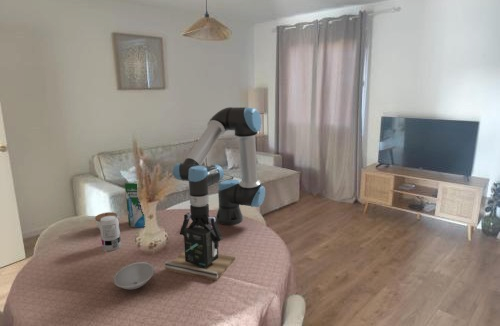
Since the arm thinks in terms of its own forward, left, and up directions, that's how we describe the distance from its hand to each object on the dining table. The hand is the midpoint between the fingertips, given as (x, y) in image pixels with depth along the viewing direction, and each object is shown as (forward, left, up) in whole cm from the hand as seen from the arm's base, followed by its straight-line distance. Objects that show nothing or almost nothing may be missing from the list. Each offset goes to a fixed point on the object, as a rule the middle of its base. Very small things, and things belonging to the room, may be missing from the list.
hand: (201, 252), depth 140 cm
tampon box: (0, 0, -4) cm, 4 cm away
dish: (+22, -17, -6) cm, 28 cm away
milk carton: (-28, -55, -6) cm, 62 cm away
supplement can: (0, -49, -6) cm, 49 cm away
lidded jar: (-16, -67, -6) cm, 69 cm away
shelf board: (-1, -1, -6) cm, 6 cm away
